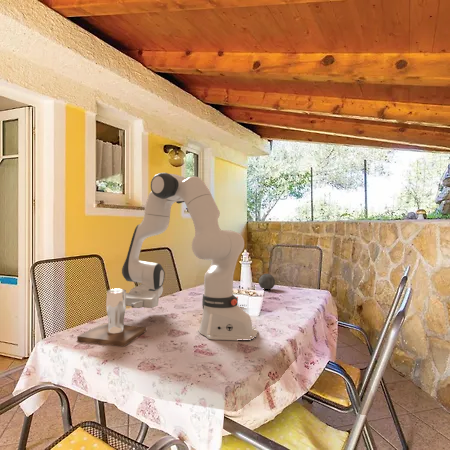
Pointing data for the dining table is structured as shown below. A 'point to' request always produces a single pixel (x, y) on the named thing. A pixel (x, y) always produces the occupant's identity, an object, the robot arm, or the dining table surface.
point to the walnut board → (103, 337)
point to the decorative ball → (266, 281)
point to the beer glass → (116, 310)
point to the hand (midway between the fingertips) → (121, 304)
